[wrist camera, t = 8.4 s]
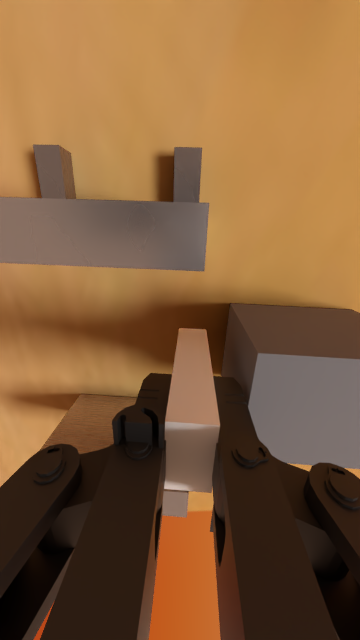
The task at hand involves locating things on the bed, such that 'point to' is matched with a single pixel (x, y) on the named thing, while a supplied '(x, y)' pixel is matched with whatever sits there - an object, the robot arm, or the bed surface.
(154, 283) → the bed surface
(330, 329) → the grey rectangular block
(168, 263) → the channel
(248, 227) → the bed surface
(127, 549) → the robot arm
